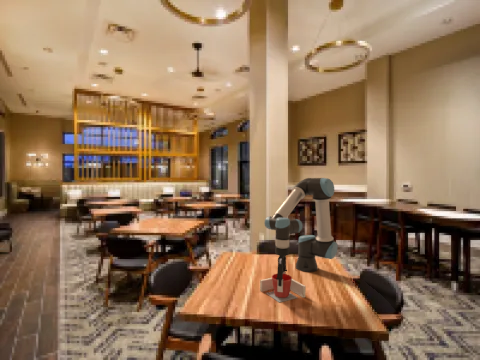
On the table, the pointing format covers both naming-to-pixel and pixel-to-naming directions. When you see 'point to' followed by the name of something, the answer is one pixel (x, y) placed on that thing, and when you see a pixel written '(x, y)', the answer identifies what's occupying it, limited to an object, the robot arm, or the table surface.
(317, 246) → the robot arm
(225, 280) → the table surface
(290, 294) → the pad
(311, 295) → the table surface
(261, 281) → the corner wall
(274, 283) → the flower pot
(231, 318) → the table surface
